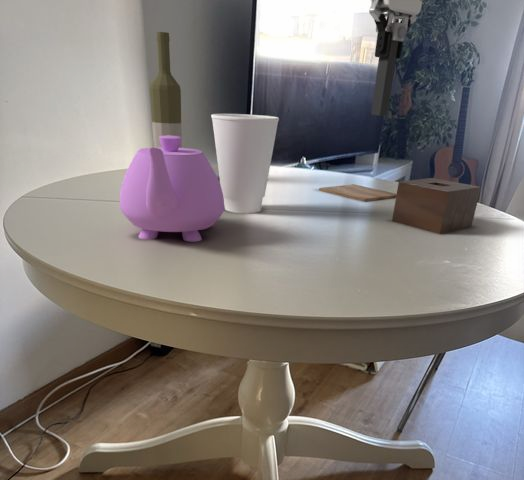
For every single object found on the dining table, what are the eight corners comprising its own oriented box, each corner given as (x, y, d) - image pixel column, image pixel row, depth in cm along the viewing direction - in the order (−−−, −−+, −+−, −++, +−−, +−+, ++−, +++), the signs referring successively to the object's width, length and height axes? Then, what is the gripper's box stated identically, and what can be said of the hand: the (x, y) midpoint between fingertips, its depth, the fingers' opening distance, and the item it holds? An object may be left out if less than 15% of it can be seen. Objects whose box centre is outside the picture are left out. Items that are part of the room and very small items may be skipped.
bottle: (167, 181, 113) (159, 30, 99) (148, 177, 117) (139, 31, 103) (189, 178, 118) (185, 33, 104) (171, 174, 122) (165, 34, 108)
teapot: (215, 258, 64) (215, 147, 58) (99, 252, 64) (86, 141, 57) (229, 219, 83) (230, 133, 77) (140, 214, 83) (133, 128, 77)
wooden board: (353, 186, 119) (353, 184, 119) (399, 197, 110) (399, 194, 109) (318, 190, 112) (319, 187, 112) (364, 201, 103) (364, 198, 102)
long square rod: (375, 114, 102) (387, 25, 94) (394, 116, 98) (409, 23, 91) (366, 114, 100) (378, 23, 93) (385, 116, 97) (399, 22, 89)
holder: (424, 215, 94) (431, 177, 90) (471, 227, 87) (481, 186, 83) (391, 221, 88) (398, 181, 85) (439, 234, 81) (449, 191, 78)
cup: (252, 200, 98) (255, 114, 91) (286, 213, 90) (292, 118, 82) (200, 205, 92) (199, 113, 85) (231, 218, 84) (233, 117, 76)
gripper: (393, -77, 79) (375, 54, 87) (448, -56, 88) (427, 60, 97) (358, -69, 84) (345, 54, 93) (414, -50, 93) (397, 61, 102)
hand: (387, 56), depth 95 cm, fingers closed on long square rod, 2 cm apart
